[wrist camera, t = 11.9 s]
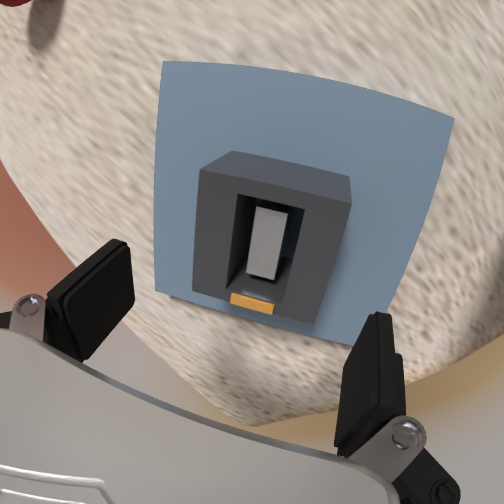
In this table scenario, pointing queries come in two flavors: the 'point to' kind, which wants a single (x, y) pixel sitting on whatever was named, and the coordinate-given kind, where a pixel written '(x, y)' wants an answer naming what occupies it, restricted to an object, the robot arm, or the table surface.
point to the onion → (13, 2)
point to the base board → (305, 153)
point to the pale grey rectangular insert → (269, 238)
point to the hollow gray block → (241, 223)
